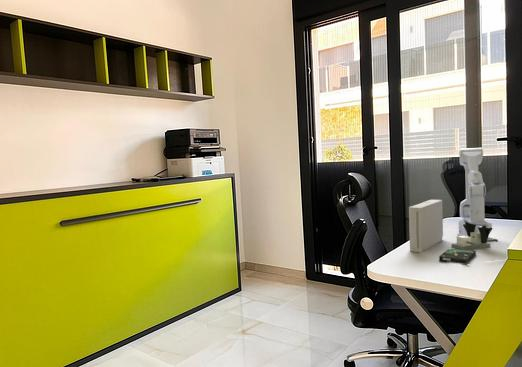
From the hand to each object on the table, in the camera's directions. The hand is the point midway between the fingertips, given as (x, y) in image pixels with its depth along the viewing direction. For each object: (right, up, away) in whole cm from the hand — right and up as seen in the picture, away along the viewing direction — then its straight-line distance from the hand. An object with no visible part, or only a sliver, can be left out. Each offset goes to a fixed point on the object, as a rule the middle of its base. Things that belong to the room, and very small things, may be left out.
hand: (477, 241), depth 178 cm
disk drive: (-16, -6, -15) cm, 23 cm away
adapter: (-6, -3, -3) cm, 8 cm away
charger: (0, -2, 0) cm, 2 cm away
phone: (+8, -2, +9) cm, 12 cm away
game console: (-19, -3, +8) cm, 21 cm away
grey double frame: (-3, -3, -1) cm, 4 cm away
